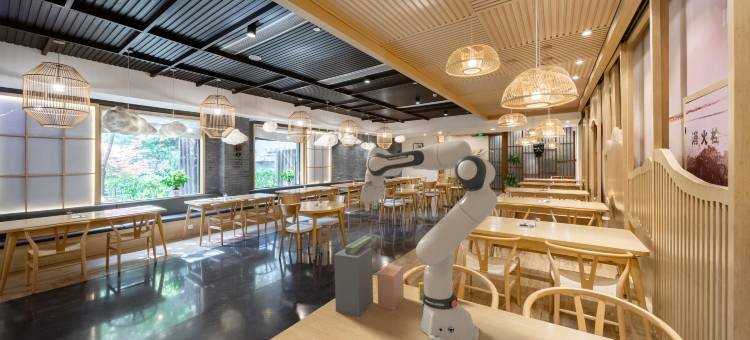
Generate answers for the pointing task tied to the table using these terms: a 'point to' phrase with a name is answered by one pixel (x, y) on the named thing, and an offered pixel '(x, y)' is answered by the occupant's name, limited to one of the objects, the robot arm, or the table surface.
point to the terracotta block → (390, 286)
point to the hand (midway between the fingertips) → (371, 209)
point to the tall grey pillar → (353, 281)
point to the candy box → (421, 289)
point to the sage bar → (358, 245)
